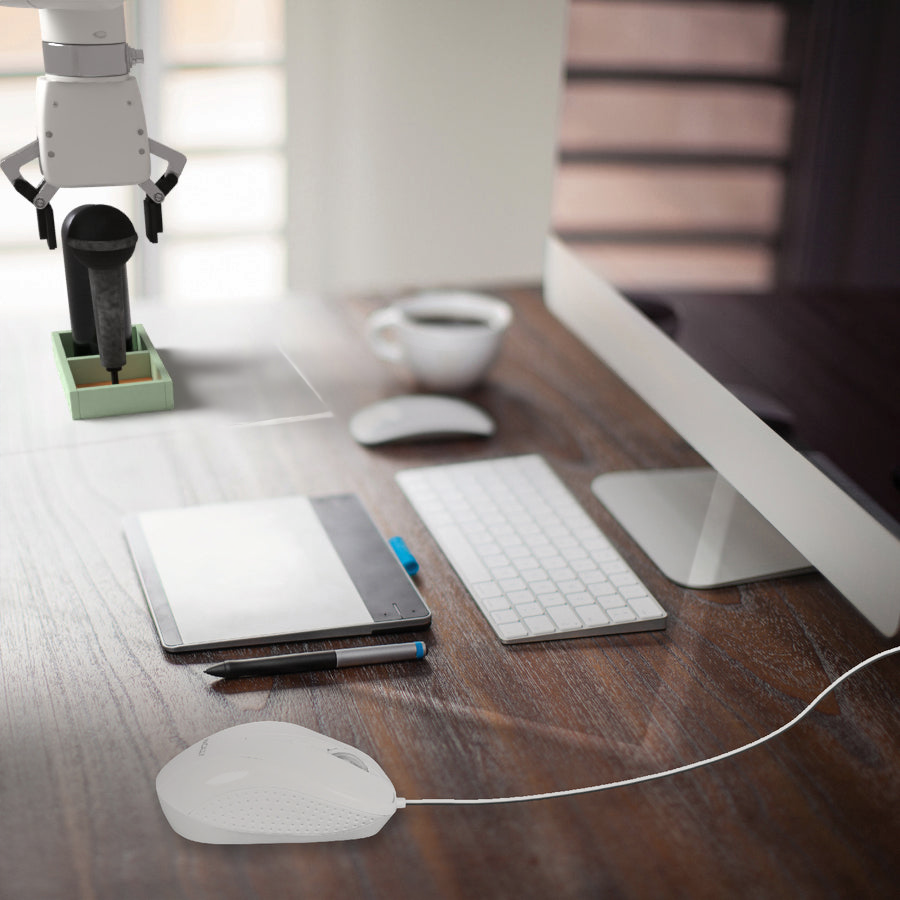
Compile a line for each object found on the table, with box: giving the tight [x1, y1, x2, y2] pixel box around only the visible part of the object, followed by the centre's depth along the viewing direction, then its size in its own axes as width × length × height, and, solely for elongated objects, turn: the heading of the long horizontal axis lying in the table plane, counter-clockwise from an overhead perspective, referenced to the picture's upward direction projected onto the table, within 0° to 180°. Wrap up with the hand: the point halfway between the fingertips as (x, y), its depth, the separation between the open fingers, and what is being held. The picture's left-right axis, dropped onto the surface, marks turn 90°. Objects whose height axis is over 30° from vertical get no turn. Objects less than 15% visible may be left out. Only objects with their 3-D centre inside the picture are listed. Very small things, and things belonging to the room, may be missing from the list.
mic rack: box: [50, 323, 175, 421], centre depth 123 cm, size 10×19×4 cm, turn 23°
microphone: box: [66, 203, 139, 385], centre depth 116 cm, size 7×7×20 cm
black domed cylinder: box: [60, 203, 134, 357], centre depth 124 cm, size 6×6×18 cm
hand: (102, 243), depth 113 cm, fingers open, 9 cm apart
